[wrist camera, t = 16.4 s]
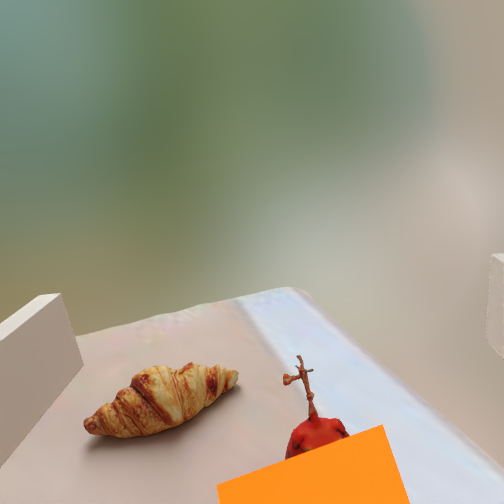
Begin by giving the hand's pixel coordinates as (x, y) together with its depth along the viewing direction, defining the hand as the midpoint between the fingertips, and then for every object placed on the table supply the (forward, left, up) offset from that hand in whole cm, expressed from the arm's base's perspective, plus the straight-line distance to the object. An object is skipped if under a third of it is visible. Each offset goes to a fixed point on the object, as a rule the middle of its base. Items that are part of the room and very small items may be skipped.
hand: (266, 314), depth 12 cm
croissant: (+27, +25, -31) cm, 48 cm away
